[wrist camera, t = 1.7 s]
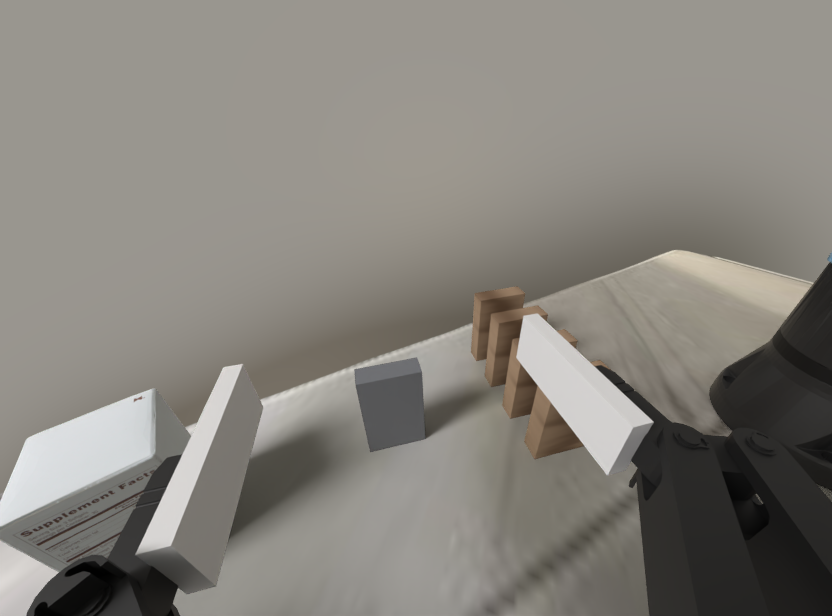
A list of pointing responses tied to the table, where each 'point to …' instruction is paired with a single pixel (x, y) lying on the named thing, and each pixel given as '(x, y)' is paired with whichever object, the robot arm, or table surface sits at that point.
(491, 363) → the walnut domino
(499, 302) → the walnut domino
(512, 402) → the walnut domino
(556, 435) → the walnut domino
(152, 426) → the supplement box
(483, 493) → the table surface
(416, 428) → the charcoal domino
